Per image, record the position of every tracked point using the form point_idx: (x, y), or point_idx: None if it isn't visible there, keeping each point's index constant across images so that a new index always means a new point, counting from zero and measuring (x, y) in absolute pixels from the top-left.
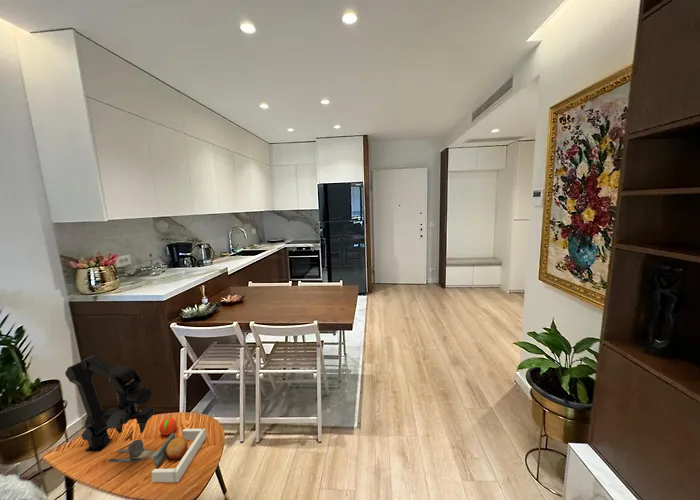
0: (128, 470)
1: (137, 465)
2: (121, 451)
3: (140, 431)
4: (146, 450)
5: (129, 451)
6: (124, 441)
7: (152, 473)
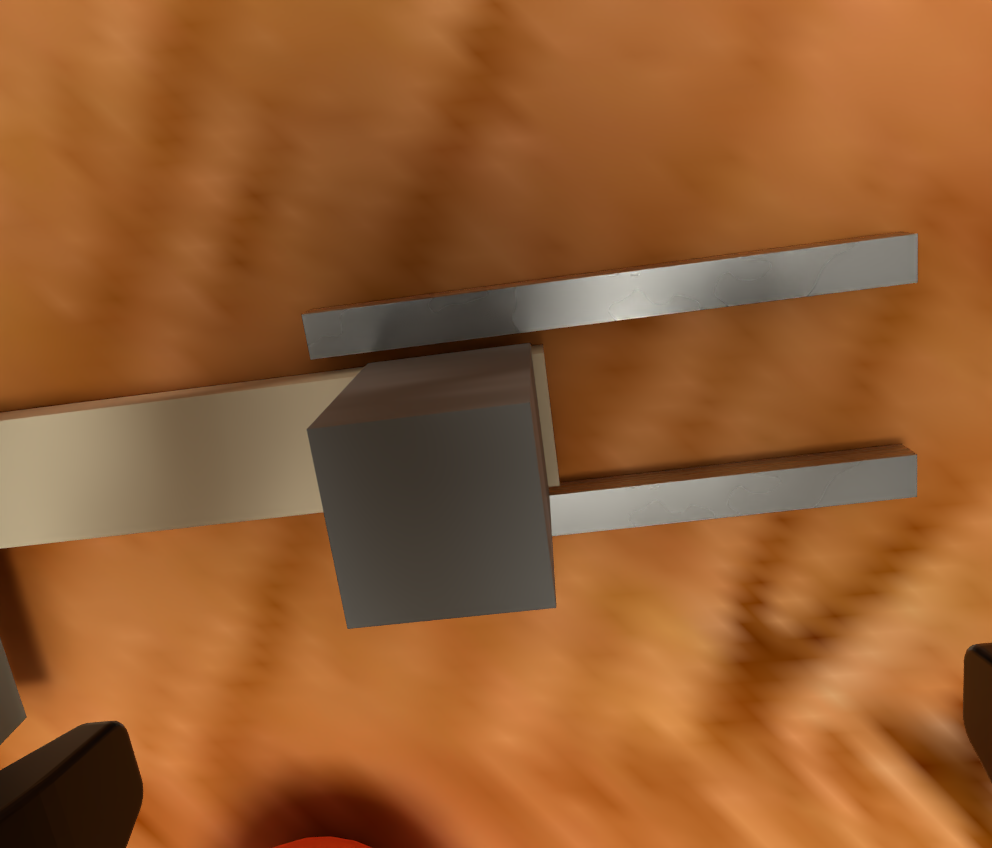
0: (361, 127)
1: (291, 247)
2: (833, 462)
3: (41, 770)
4: None
5: (512, 373)
6: None
7: None
